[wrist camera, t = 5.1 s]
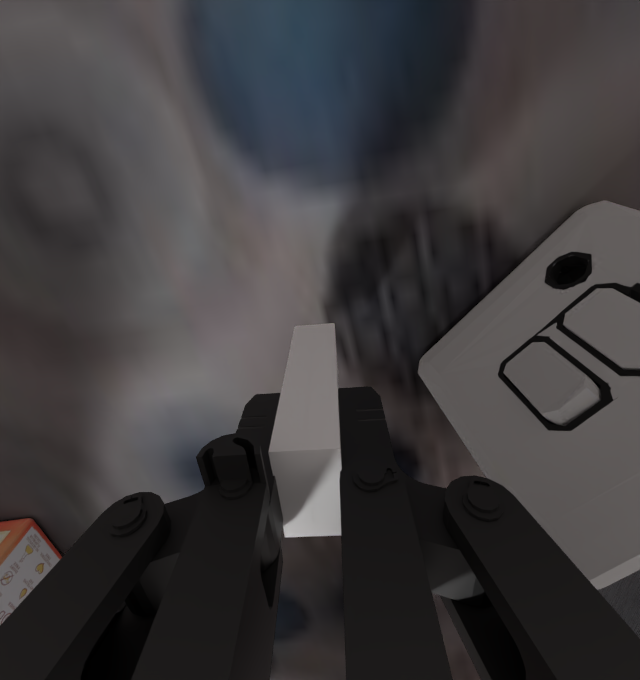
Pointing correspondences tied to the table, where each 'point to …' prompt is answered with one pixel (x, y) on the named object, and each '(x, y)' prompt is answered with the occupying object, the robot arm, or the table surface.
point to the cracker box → (22, 561)
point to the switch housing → (625, 599)
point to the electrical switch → (558, 387)
